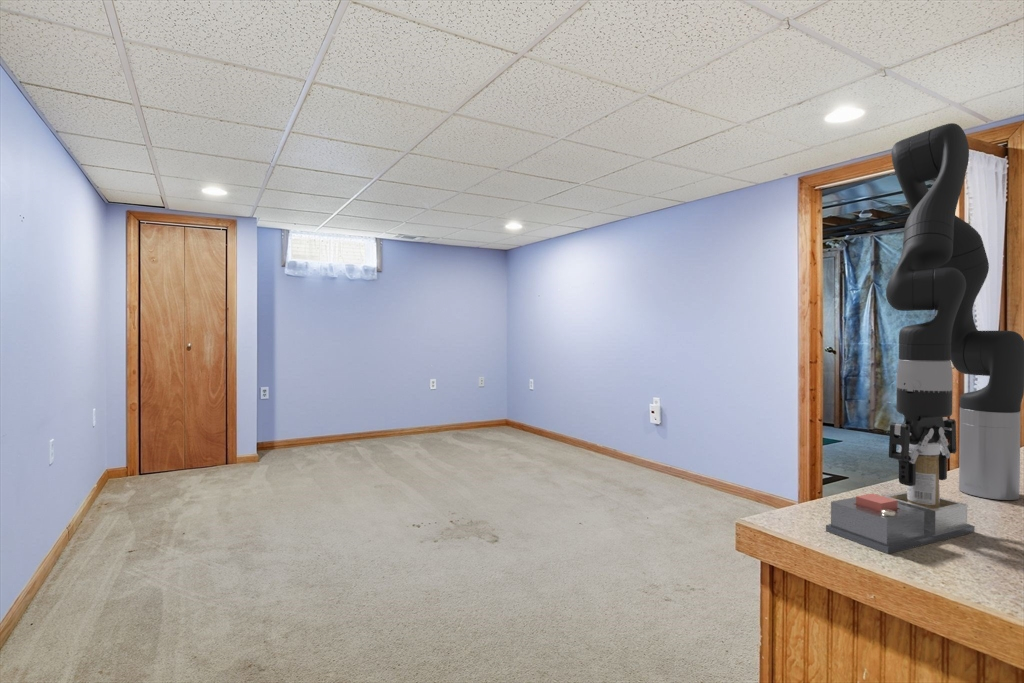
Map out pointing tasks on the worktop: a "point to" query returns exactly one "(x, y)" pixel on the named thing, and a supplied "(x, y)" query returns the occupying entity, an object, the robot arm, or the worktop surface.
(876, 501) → the button
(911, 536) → the grey push button box
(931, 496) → the sprinkles bottle
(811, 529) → the worktop surface
